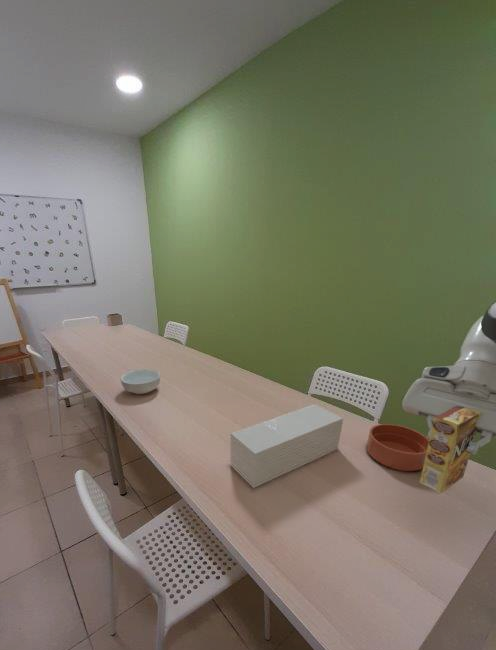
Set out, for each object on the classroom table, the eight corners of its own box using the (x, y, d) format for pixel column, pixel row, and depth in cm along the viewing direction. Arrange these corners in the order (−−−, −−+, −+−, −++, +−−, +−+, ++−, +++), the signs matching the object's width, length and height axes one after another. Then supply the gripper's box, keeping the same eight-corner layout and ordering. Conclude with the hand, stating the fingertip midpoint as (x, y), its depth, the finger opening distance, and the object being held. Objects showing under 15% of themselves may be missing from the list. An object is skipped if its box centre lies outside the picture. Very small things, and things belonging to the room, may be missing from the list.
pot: (432, 455, 87) (438, 437, 85) (417, 480, 78) (423, 461, 75) (376, 434, 97) (380, 418, 95) (357, 455, 88) (361, 438, 86)
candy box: (441, 494, 58) (460, 425, 52) (417, 482, 61) (433, 416, 56) (463, 478, 62) (484, 411, 56) (440, 467, 65) (457, 403, 59)
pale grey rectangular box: (253, 488, 77) (255, 453, 72) (230, 465, 85) (230, 433, 81) (337, 449, 91) (343, 418, 87) (310, 432, 99) (314, 403, 95)
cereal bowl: (126, 401, 124) (124, 386, 121) (119, 387, 138) (117, 373, 135) (166, 393, 130) (164, 378, 127) (155, 380, 144) (154, 366, 141)
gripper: (545, 407, 55) (521, 474, 53) (417, 378, 69) (394, 431, 67) (555, 392, 51) (529, 466, 49) (416, 365, 65) (391, 421, 63)
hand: (449, 445), depth 58 cm, fingers closed on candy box, 5 cm apart
